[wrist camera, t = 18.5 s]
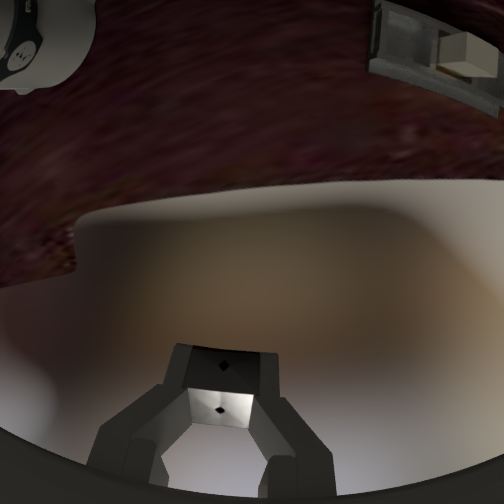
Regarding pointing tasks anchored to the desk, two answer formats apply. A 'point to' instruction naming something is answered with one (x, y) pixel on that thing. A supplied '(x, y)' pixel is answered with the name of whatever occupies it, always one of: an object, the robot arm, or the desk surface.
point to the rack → (425, 58)
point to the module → (467, 56)
